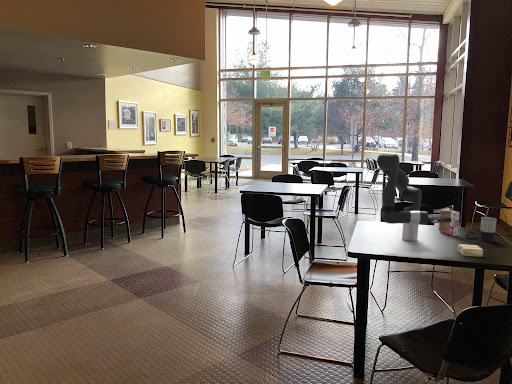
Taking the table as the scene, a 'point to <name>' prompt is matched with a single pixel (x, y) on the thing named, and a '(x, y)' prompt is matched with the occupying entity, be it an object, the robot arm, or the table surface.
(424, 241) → the table surface
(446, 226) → the walnut block
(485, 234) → the milk frother
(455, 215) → the candy bar box
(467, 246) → the pedestal
